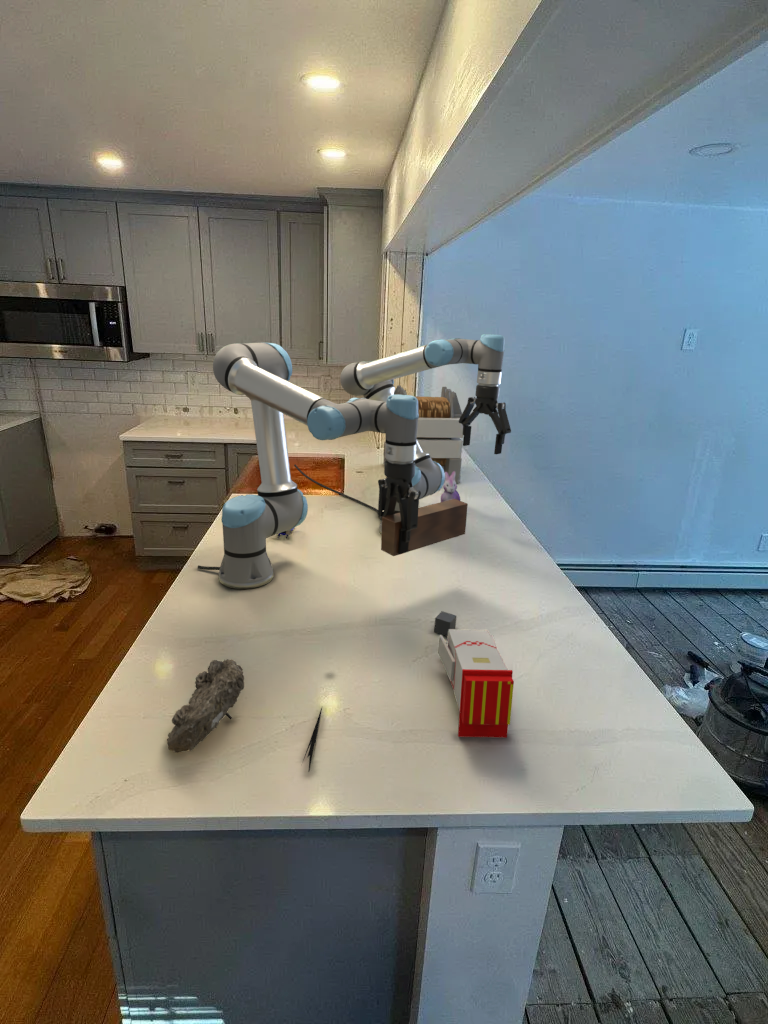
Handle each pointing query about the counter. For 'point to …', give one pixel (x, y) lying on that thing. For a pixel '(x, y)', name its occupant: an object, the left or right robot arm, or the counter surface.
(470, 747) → the counter surface
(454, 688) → the toy
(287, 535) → the figurine character
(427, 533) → the bar
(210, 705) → the fossil
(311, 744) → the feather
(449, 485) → the figurine
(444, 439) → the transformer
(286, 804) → the counter surface
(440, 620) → the slate block
